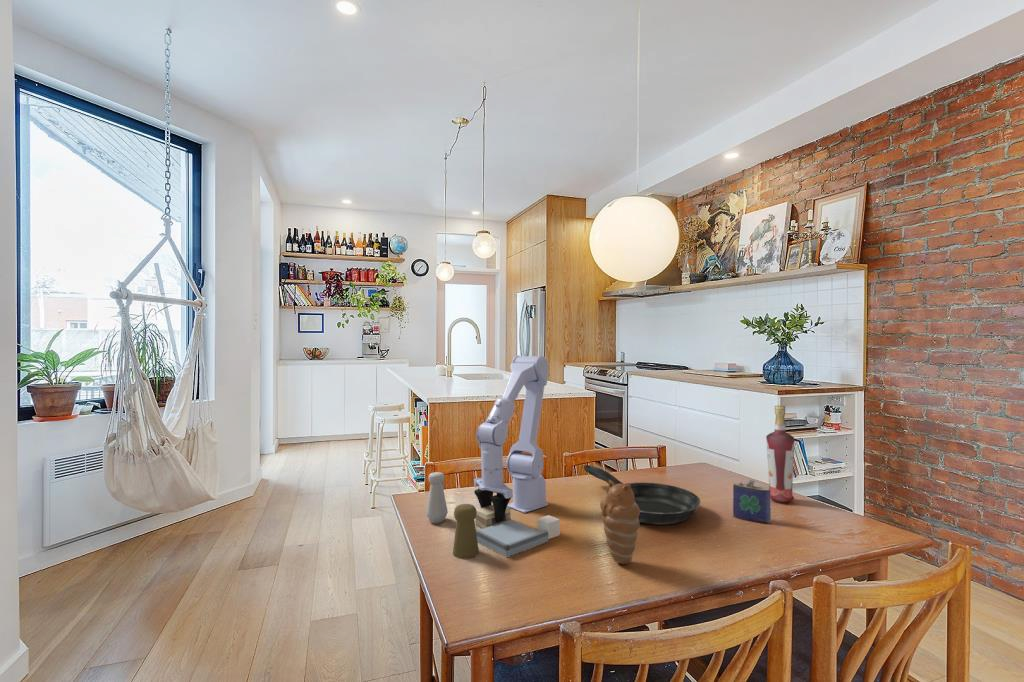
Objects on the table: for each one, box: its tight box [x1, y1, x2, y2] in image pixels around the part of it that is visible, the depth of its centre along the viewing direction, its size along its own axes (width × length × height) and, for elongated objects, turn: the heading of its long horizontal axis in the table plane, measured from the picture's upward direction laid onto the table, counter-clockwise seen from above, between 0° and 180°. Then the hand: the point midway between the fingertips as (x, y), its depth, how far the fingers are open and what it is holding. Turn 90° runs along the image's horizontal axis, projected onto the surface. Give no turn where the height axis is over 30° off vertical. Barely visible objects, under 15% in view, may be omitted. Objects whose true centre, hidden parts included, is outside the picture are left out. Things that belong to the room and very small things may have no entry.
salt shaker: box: [425, 471, 449, 524], centre depth 135 cm, size 6×6×13 cm
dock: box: [476, 519, 549, 558], centre depth 122 cm, size 13×14×2 cm
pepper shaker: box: [452, 503, 480, 559], centre depth 115 cm, size 6×6×11 cm
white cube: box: [536, 514, 561, 540], centre depth 125 cm, size 4×4×4 cm
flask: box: [732, 479, 772, 525], centre depth 132 cm, size 9×3×11 cm, turn 50°
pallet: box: [474, 504, 512, 529], centre depth 132 cm, size 8×5×4 cm, turn 130°
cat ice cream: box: [599, 480, 641, 565], centre depth 108 cm, size 9×8×18 cm
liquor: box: [765, 405, 795, 504], centre depth 147 cm, size 7×7×28 cm
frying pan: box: [583, 464, 701, 525], centre depth 147 cm, size 44×25×7 cm, turn 26°
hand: (493, 518), depth 132 cm, fingers closed on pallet, 5 cm apart
